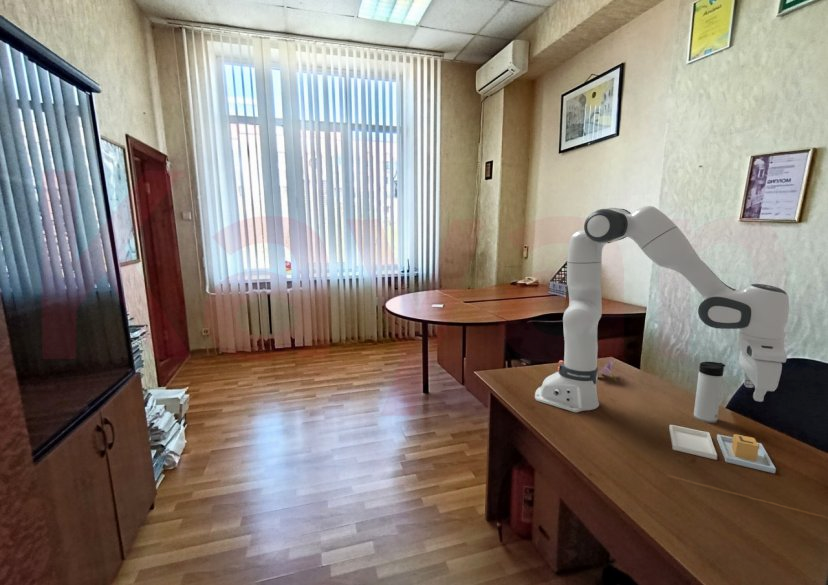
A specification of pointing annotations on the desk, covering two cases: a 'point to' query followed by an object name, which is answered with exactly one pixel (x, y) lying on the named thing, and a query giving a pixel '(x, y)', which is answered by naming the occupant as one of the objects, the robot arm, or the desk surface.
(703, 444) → the tray white
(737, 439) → the letter cube
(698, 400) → the travel mug
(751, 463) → the tray bluegrey
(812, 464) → the desk surface
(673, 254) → the robot arm
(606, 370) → the lily
